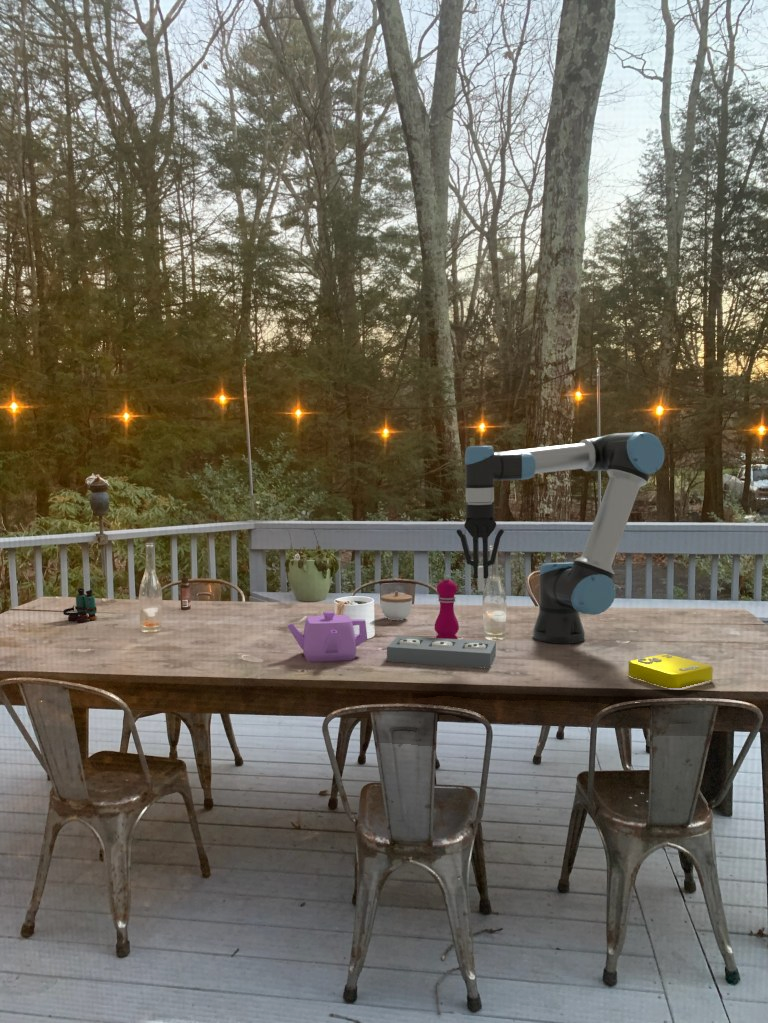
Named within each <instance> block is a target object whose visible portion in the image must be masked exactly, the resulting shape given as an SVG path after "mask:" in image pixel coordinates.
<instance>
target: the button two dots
mask: <svg viewBox="0 0 768 1023" xmlns="http://www.w3.org/2000/svg"><path fill="white" fill-rule="evenodd" d="M400 645H415V646H419V645H420V641H419V640H417V639H402V640H400Z"/></svg>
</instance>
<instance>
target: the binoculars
mask: <svg viewBox="0 0 768 1023" xmlns="http://www.w3.org/2000/svg"><path fill="white" fill-rule="evenodd" d="M77 593H78V594H76V595H75V604H76V605H74V606H72V607H69V608H65V609H63V615H64V616H67V621H68V622H70V623H71V622H76V623H77V624H78V623H83V622H86V621H88V620H90V621H95V620H98V618H97V615H96V614H97V612H98V611H97V610H98V609H97V605H96V604H97V603H96V599H95V596H94V595H93V589H89V590H86V591H85V589H84V588H82V587H78V588H77Z"/></svg>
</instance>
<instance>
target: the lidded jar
mask: <svg viewBox="0 0 768 1023" xmlns="http://www.w3.org/2000/svg"><path fill="white" fill-rule="evenodd" d="M412 605H413V596H412V595H411V594H406V593H399V591H397V590H395V591H394V593H386V594H383V595H380V608H381V611H382V614H383V615H384V616H385V617H386V619H387V618H389V619H394V620H401V621H403V620H402V619H405V620H406V618H408V616H409V615H410V613H411V612H412Z"/></svg>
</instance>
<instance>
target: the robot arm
mask: <svg viewBox="0 0 768 1023" xmlns="http://www.w3.org/2000/svg"><path fill="white" fill-rule="evenodd" d="M464 456H465V457H464V466H465V468H464V470H465V502H466V503H467V504H466V505H465V522H464V525H463V526H462V527H461V528H458V529H457V530H456V534H457V535H458V536H459V539H460V542H461V545H462V550H463V553H464V557H465V561H466V564H467V565H470V566H472V567H473V578H474V579H477V592H485V588H486V587H485V579H486V580H487V579H488V578H489V567H490V566H491V565H492V566H493V565H494V564H495V562H496V560H497V554H498V550H499V546H500V542H501V538H502V536H503V534H504V533H505V529H504V528H501V527H500V526H498V525H497V522H496V520H495V505H494V504H493V503H494V501H495V488H494V487H495V482H496V481H498V482H499V481H519V480H520V481H523V480H530V479H531V478H533V477H534V476H535V475H536V474H545V473H554V472H563V471H572V470H581V469H582V470H583V471H584V472H592V471H594V472H595V471H597V472H598V471H602V472H606V473H607V475H608V477H609V480H608V483H607V486H606V488H605V490H604V494H603V496H602V499H601V502H600V504H599V506H598V510H597V513H596V516H595V518H594V521H593V524H592V527H591V530H590V532H589V535H588V538H587V541H586V544H585V546H584V550H583V552H582V555H580V557H578V558H575V559H574V561H573V562H566V561H565V562H548V563H542V564H541V566H540V568H539V575H538V577H539V610H538V611H539V612H538V616H537V618H536V622H535V623H534V627H533V630H532V632H533V633H532V637H533V639H535V640H537V641H540V642H545V643H550V644H562V645H564V644H576V643H581V642H583V641H585V630H584V626H583V624H582V620H581V616H580V613H581V614H584V615H591V616H593V615H594V616H596V615H600V614H603V613H604V612H605V611H607V610H608V609H610V607H611V606H612V604H613V603H614V601H615V598H616V596H617V595H616V593H617V591H616V590H617V589H616V588H615V583H614V582H613V579H614V576H615V571H614V570H613V567H612V565H613V562H614V560H615V557H616V554H617V552H618V549H619V547H620V543H621V540H622V537H623V534H624V532H625V529H626V526H627V524H628V521H629V518H630V515H631V513H632V509H633V507H634V504H635V502H636V499H637V496H638V493H639V490H640V488H642V487H644V486H645V485H646V486H647V484H648V481H649V478H650V476H651V475H652V474H655V473H656V472H657V471H659V470H660V469H661V468H662V466H663V464H664V461H665V449H664V446H663V444H662V441H661V440H660V439H659V437H657V436H656V434H653V433H650V432H645V431H644V432H643V431H635V432H614V433H610V434H605V435H601V436H598V437H592V438H586V439H582V440H580V441H579V442H578V443H570V444H561V445H560V444H559V445H550V446H541V447H531V448H530V447H529V448H522V449H513V450H506V451H505V450H503V451H494V447H493V446H492V445H471V446H467V447H466V449H465V455H464ZM467 532H468V534H469V535H470V536H471V537H472V546H473V547H472V555H471V551H470V547H469V544H468V539H467V536H466V534H467ZM493 532H494V534H495V535H496V536H495V538H494V543H493V547H492V552H491V555H490V559H489V537H490V536H491V535H492V533H493ZM480 539H482V565H479V564H480V562H479V560H480V556H479V554H480V552H479V551H480V550H479V545H480V544H479V542H480V541H479V540H480ZM472 556H473V558H472Z"/></svg>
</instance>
